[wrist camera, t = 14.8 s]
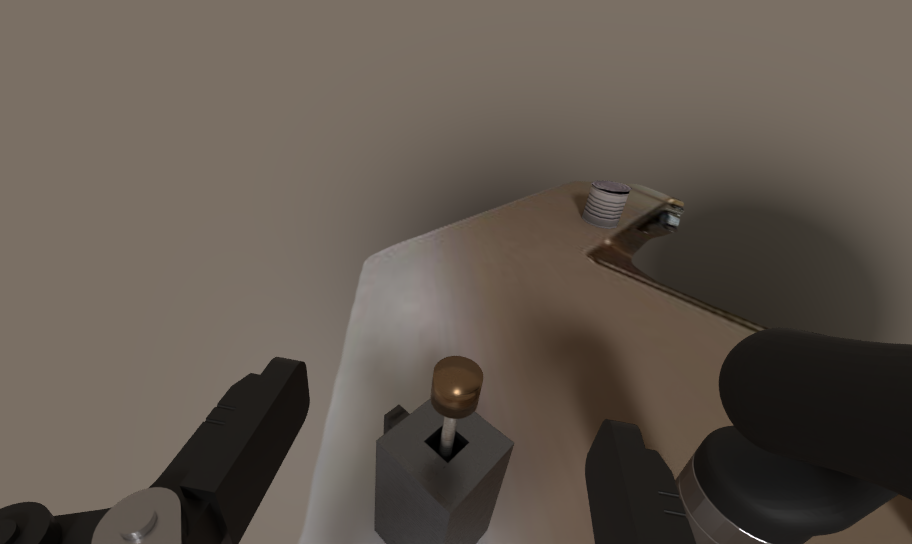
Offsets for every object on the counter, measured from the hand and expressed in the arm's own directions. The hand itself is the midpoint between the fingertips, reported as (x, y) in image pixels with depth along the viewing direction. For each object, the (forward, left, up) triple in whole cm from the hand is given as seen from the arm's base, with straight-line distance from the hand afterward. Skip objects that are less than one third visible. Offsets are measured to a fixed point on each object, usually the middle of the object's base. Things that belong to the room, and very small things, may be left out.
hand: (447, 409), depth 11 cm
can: (+35, -115, -40) cm, 127 cm away
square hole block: (+10, -13, -40) cm, 43 cm away
